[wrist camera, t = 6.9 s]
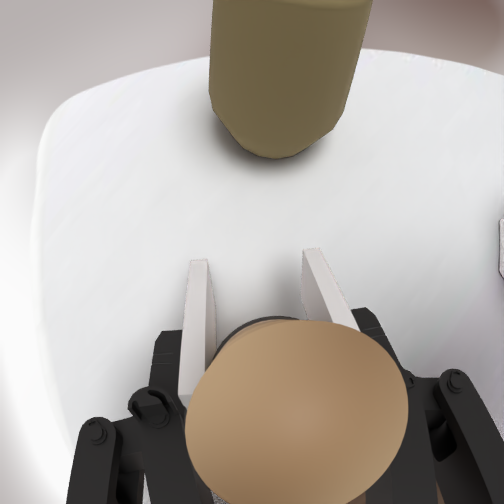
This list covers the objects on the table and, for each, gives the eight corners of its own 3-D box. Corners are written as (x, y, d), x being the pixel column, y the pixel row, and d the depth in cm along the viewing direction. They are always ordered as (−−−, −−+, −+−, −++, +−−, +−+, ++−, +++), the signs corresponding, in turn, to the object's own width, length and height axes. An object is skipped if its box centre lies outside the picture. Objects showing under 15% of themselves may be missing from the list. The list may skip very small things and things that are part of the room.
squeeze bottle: (193, 152, 19) (130, -137, 1) (239, 73, 21) (243, -144, 3) (312, 193, 19) (459, -101, 1) (339, 105, 20) (426, -106, 3)
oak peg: (313, 340, 16) (446, 376, 5) (273, 403, 16) (328, 540, 4) (249, 302, 17) (264, 266, 5) (209, 365, 16) (138, 460, 4)
